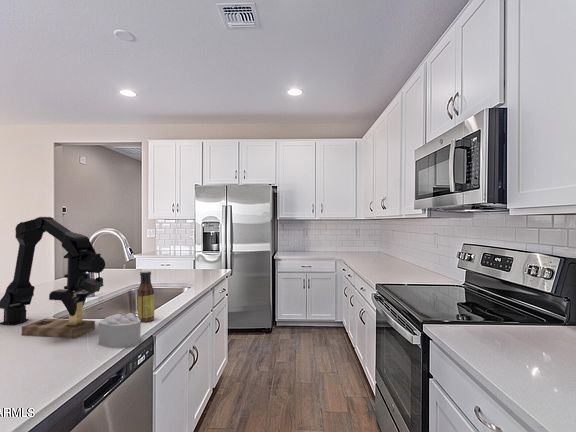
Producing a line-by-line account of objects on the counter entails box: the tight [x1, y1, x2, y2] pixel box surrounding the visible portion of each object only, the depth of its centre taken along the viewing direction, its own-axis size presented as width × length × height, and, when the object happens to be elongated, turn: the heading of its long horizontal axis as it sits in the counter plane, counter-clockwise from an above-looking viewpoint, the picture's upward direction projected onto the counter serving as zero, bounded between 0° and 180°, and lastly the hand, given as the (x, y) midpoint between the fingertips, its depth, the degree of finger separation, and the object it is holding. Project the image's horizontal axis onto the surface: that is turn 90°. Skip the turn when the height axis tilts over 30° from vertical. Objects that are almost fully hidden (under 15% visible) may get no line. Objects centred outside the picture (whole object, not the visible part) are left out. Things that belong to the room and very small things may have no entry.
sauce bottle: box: [137, 270, 155, 323], centre depth 139 cm, size 7×6×20 cm
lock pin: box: [68, 301, 84, 327], centre depth 122 cm, size 3×3×10 cm
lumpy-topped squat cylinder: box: [98, 312, 142, 349], centre depth 115 cm, size 10×13×9 cm
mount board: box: [21, 318, 96, 339], centre depth 123 cm, size 20×10×3 cm, turn 85°
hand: (75, 314), depth 122 cm, fingers closed on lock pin, 3 cm apart
